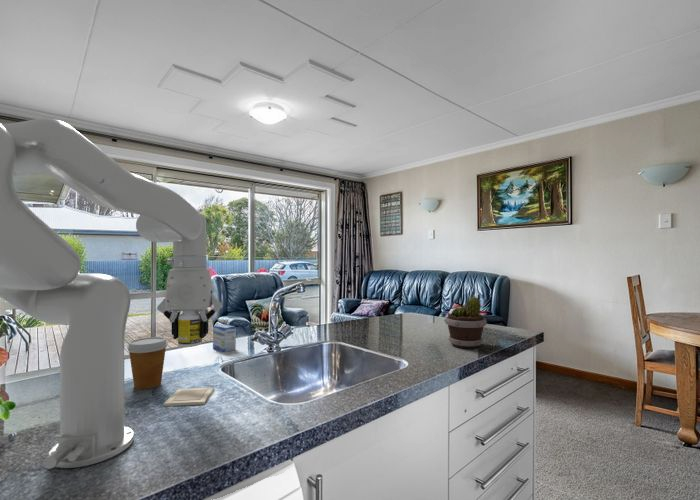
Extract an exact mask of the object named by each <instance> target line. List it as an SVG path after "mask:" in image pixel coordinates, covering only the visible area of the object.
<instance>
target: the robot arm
mask: <svg viewBox="0 0 700 500" xmlns="http://www.w3.org/2000/svg"><path fill="white" fill-rule="evenodd" d="M44 173H45V174H47V175H49V176H51V177H52V178H54V179H55V180H57V181H59V182H60V183H61V184H64V185H65V186H67V187H69V188H70V189H71V190H73V191H75V192H77V194H80V195H81V196H83V197H84V198H85V199H87V200H89V202H92V203H93V204H95V205H97V206H99V207H103V208H105V209H109V210H113V211H117V212H122V213H129V214H135V215H139V216H138V217H137V219H136V221H135V228H136V231H137V233H138V235H139V236H140V237H141V238H143V239H144V240H146V241H149V242H153V243H169V242H170V243H171V242H172V257H171V258H167V261H166V264H167V265H171V267H172V268H171V269H168V273H167V279H166V287H165V297H164V299H163V300H162V301H161V302H160V303H159V304H158V305H157V307H156V309H157V311H159V312H160V313H161V314H163V316H165V317H166V318H167V319H168V320H169V322H170V323H171V335H172V336H173V340H178V317H179V315H180V314H182V313H181V312H183V311H197V310H199V311H198V312H199V313H200V315H201V318H202V319H201V322H200V338H202V339H204V338H205V337H206V336H207V335H208V334H209V320H210V319H211V318H212V317H213V316H214V315H215V314H216V313H217V312H218V311H219V310H221V308H223V304H222V303H221V302H220V300H218V298H217V297H216V296H214V294H213V290H214V289H213V282H212V276H211V271H210V268H208V267H207V266H208V264H207V263H208V262H207V260H208V259H207V219H206V218H207V217H206V216H205V214H202V213H199V211H198V210H197V208H195V207H194V206H193V205H192V204H191V203H190V202H188V201H187V199H185V198H184V197H182V196H181V195H180V194H179V193H177V192H176V191H173V190H171V189H170V188H168V187H166V186H163V185H161V184H159V183H156V182H154V181H152V180H150V179H147V178H145V177H143V176H140V175H138V174H135V173H132V172H130V171H129V170H127V169H126V168H125V167H124V166H122V165H121V164H119V163H118V162H117V161H116V160H114V159H113V158H112V157H111V156H110V155H108V154H107V153H105V152H104V151H103V150H102V149H101V148H100V147H98V146H97V145H95V144H94V143H93V142H92V141H91V140H89V139H88V138H87V137H85V136H84V135H83V134H82V133H80V132H79V131H78V130H76V129H75V128H74V127H73V126H71V125H70V124H69V123H66V122H64V121H62V120H59V119H55V118H49V117H48V118H46V117H45V118H36V119H29V120H23V121H18V122H13V123H12V122H11V123H0V298H1V299H3V300H4V301H6V303H7V302H8V303H9V304H10V305H12V306H14V307H15V308H17V309H18V310H20V311H21V312H24V313H25V314H27V315H29V316H30V317H31V318H33V319H35V320H38V321H40V322H42V323H46V324H49V325H58V326H59V325H61V326H68V330H67V332H66V334H65V336H64V339H63V342H62V344H61V346H60V347H61V348H60V352H59V437H58V438H57V442H58V443H56V444H55V445H54V446H53V447H51V449H49V451H48V453H47V454H48V455H47V457H45V458H44V459H43V460H42V461H43V462H42V465H43V467H44V468H46V469H49V470H51V469H54V468H60V469H74V468H82V467H86V466H91V465H95V464H99V463H101V462H104V461H106V460H110V459H111V458H113V457H115V456H117V455H119V454H121V453H123V452H124V451H125V450H126V449H128V448H129V447H130V446H131V445H132V444H133V442H134V440H135V432H134V430H133V429H132V428H130V427H128V426H125V337H126V336H125V335H126V326H127V321H128V316H129V312H130V307H131V293H130V291H129V288H128V287H127V284H126V283H125V282H124V281H122V280H121V279H119V278H117V277H115V276H114V275H113V276H112V275H110V274H104V273H80V272H81V270H82V261H81V258H80V255H79V253H78V252H77V250H76V249H75V248H74V247H73V246H72V245H71V244H70V243H69V242H68V241H67V240H66V239H64V238H63V237H62V236H61V235H60V234H59V233H57V232H56V231H55V230H54V229H52V228H51V227H50V226H49V225H48V224H47V223H45V221H43V220H42V219H41V218H40V217H39V216H37V214H35V212H33V211H32V210H31V209H30V207H28V206H27V205H26V204H25V202H24V201H23V200H22V199H21V198H20V197H19V195H18V193H17V190H16V188H15V183H14V177H17V176H26V175H27V176H28V175H35V174H36V175H37V174H44ZM212 306H213V307H212ZM211 307H212V308H211ZM209 308H211V309H210V310H209Z"/></svg>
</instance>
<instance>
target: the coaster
mask: <svg viewBox="0 0 700 500" xmlns="http://www.w3.org/2000/svg"><path fill="white" fill-rule="evenodd" d="M214 391H215V387H197V388H194V387H193V388H192V387H191V388H177V389H176V391H175V392H173V394H172V395H171V396H170V397H168V399H166V401H165V402H164V403H163V407H177V406H196V405H197V406H198V405H205V404H206V403H207V401H208V400H209V398H210V397H211V395H212V394H213V392H214Z"/></svg>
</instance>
